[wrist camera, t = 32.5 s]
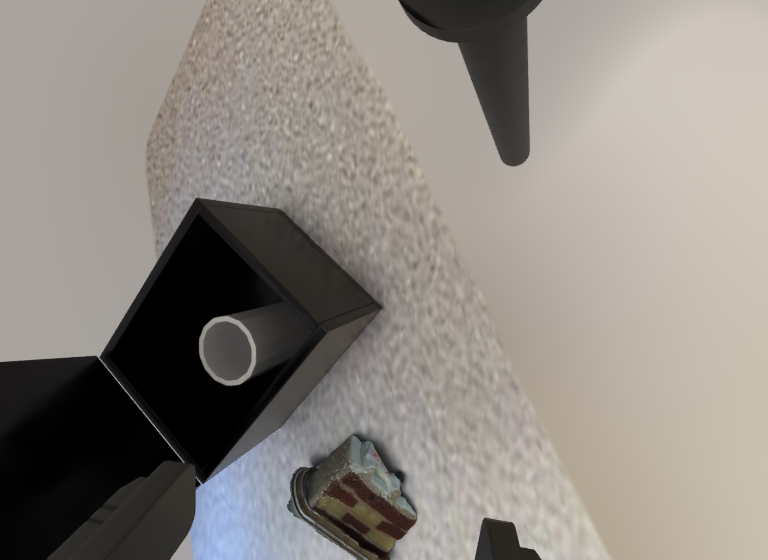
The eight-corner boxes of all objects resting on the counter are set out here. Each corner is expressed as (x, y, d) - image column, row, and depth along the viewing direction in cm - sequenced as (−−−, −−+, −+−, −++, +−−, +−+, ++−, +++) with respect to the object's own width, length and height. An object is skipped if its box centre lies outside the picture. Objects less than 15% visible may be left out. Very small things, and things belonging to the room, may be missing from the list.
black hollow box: (279, 208, 39) (195, 197, 29) (383, 307, 36) (328, 331, 26) (195, 332, 43) (98, 357, 34) (280, 427, 41) (202, 484, 31)
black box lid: (-274, 379, 16) (-364, 478, 16) (-110, 676, 14) (-218, 792, 14) (96, 355, 33) (51, 403, 33) (201, 484, 31) (152, 536, 31)
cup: (285, 289, 38) (220, 301, 30) (325, 328, 37) (268, 352, 29) (256, 328, 40) (187, 350, 32) (294, 367, 39) (232, 400, 31)
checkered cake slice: (450, 526, 36) (369, 487, 29) (392, 581, 36) (297, 556, 29) (403, 444, 44) (329, 398, 37) (355, 489, 44) (273, 452, 37)
